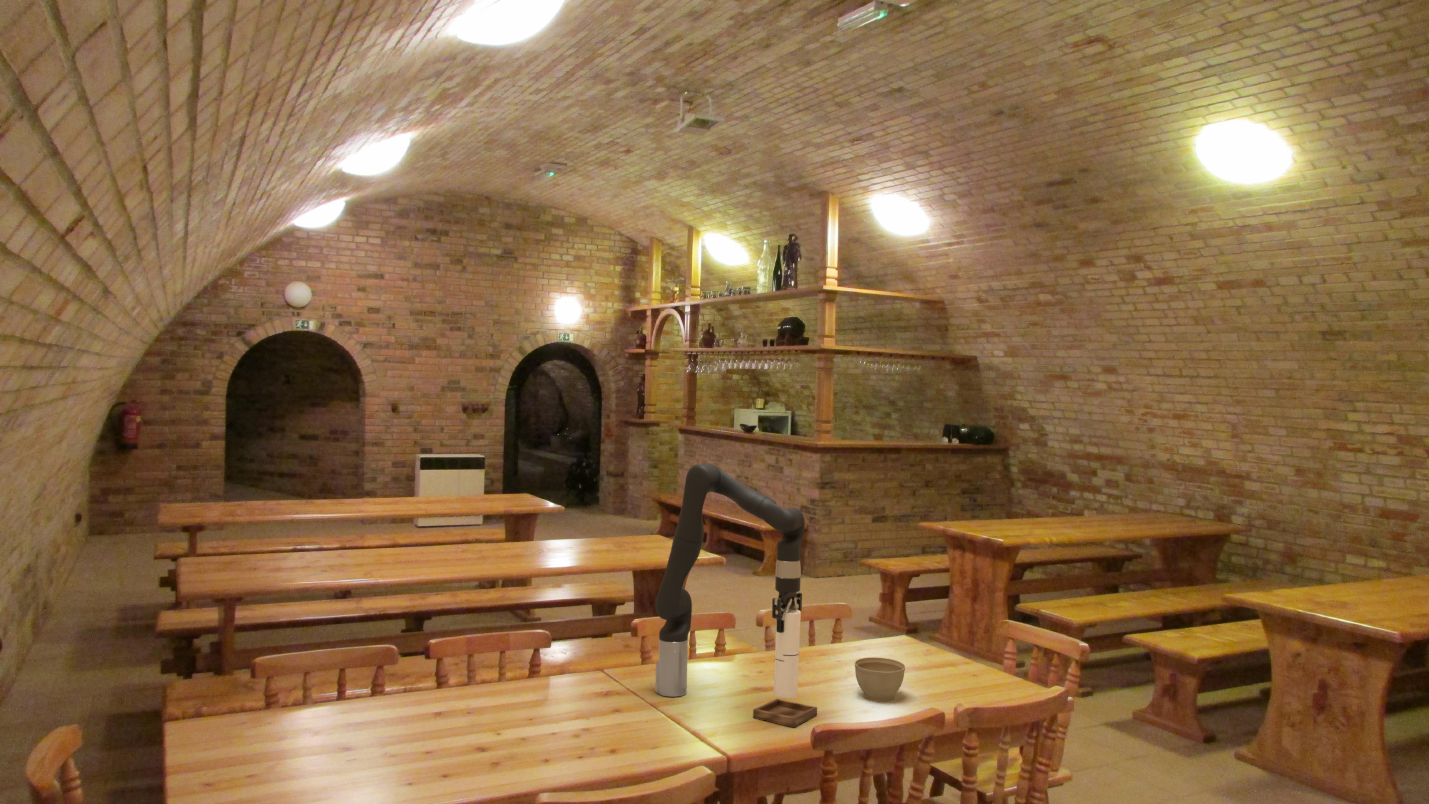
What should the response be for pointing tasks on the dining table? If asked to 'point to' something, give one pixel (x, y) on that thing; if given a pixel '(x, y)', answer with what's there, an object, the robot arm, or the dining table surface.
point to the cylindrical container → (787, 656)
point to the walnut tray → (785, 712)
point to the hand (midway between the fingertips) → (786, 629)
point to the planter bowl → (879, 677)
